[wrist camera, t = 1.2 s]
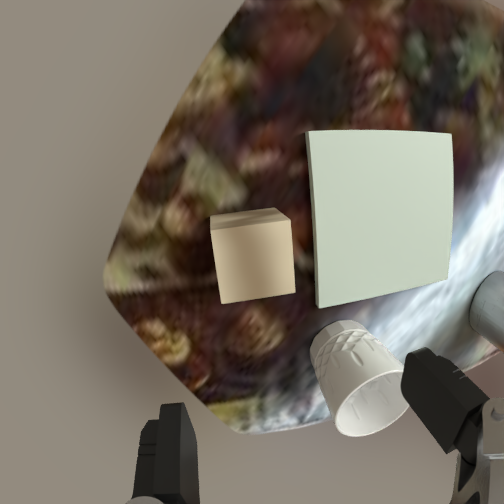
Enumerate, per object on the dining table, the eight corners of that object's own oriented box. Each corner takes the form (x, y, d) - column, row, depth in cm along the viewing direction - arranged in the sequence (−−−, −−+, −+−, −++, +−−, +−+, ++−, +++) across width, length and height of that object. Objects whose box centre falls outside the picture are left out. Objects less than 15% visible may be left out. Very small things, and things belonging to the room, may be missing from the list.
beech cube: (274, 207, 27) (290, 219, 22) (279, 267, 28) (295, 292, 23) (210, 215, 26) (210, 230, 21) (219, 276, 28) (221, 303, 23)
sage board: (445, 133, 27) (451, 133, 26) (442, 276, 31) (447, 279, 30) (305, 132, 25) (308, 131, 24) (315, 303, 30) (318, 308, 29)
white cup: (319, 308, 30) (360, 369, 21) (381, 318, 32) (431, 370, 22) (293, 371, 32) (320, 438, 23) (354, 376, 34) (390, 434, 24)
